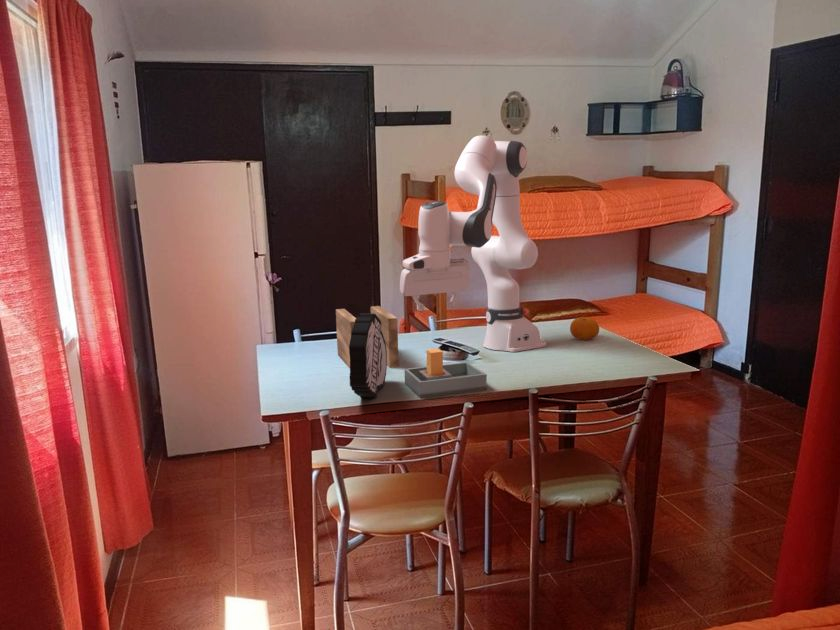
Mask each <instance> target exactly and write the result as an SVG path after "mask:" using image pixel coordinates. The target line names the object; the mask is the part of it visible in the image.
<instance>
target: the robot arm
mask: <svg viewBox="0 0 840 630" xmlns="http://www.w3.org/2000/svg"><path fill="white" fill-rule="evenodd" d="M527 162H528V151H527V148H526V146H525V145H524V143H522V141H518V140H511V141H508V140H506V141H505V140H493V139H492V138H491V137H489V136H487V135H476V136H473V137H472V138H471V140H470V141H468V143H467V144H466V146H465V147H464V148H463V149H462V152H461V154H460V156H459V158H458V160H457V161H456V164H455V167H454V172H453V173H454V174H453V175H454V179H455V182H456V183H457V185H458V186H459V187H460V189H462V190H463V191H464V192H467V194H471V195H475V196H477V197H478V201H477V206H476V209H474V210H472V211H451V210H449V208H448V207H449V206H448V203H447V202H446V201H443V200H431V201H426V202H424V203H423V204H421V205H420V207H419V211H418V222H417V223H418V226H417V227H418V228H417V229H418V234H417V235H418V238H419V248H418V254H415V255H413V256H410V257H408V258H405V259H403V261H402V267H403V269H402V270H401V273H400V277H399V279H400V280H399V292H400V293H401V294H402V295H403V296H405V297H411V296H412V300H413V301H414V302H415V304H416V310H417V311H419V312H420V311H421V312H422V311H424V309H425V307H424V306H425V305H424V303H421V302H420V301H419V299H420V297H421V296H423V295H435V294H443V293H444V294H445V293H451V295H452V297H451V298H450V300H447V307H448V308H455V307H456V301H457V299H458V297H459V292H465V291H469V289H470V288H471V277H470V272H469V271H470V262H469V261H468V260H467V259H465V258H461V257H460V258H451V257H452V256H451V246H455V247H456V246H457V247H458V246H462V247H471V257H472V259H473V261H474V262H475V263H476V264H477V266H479V268H480V270H481V271H482V274H483V276H484V278H485V279H484V280H485V281H486V287H487V288H486V289H487V306H486V310H485V311H486V313H485V316H486V317H485V319H486V330H485V331H486V332H485V336H484V340H483V344H482V345H483V347H484V348H486V349H488V350H493V351H505V352H511V353H517V352H522V351H527V350H532V349H539V348H544V347H547V342H546V340H544V339H542V338H541V334H540V330H539V328H538V327H537V326H536V324H534V323H532V322H531V321H530V320H529V319H527V318H526V317H525V316H524V315H529V313H530V309H528V308H526V307H524V308H523V307H521V305H520V285H519V283H518V281H516V279H514V278H513V277H512V275H511V273H510V272H509V271H510V270H523V269H524V270H526V269H530V268H532V267H533V266H534V265H535V264H536V262H537V260H538V257H539V251H538V247H537V245H536V243H535V242H534V240H532V239H531V237H530V236H529V235H528V234H527V232H526V230H525V228H524V225H523V222H522V218H521V199H520V198H521V195H520V192H521V189H520V188H521V187H520V181H519V180H520V179H519V177H520V174H522V172H523V171H525V168H526V166H527ZM493 226H494V227H495V228H496V230H497V233H498V234H499V235H492V234H493V233H492V232H493Z"/></svg>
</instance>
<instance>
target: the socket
mask: <svg viewBox="0 0 840 630" xmlns="http://www.w3.org/2000/svg"><path fill="white" fill-rule="evenodd" d="M445 378H452V375H451V374H450V373H448V372H447V371H446V370H444V369H443V375H436V376H429V375H428V374H427V370H422V371H419V379H420V380H421V381H428V380H437V379H445Z"/></svg>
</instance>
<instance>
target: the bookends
mask: <svg viewBox="0 0 840 630" xmlns="http://www.w3.org/2000/svg"><path fill="white" fill-rule="evenodd" d="M370 314H376V316H377V317H378V318H379V319H380V321H381V331H382V334H383V337H384V340H385V343H386V349H387V367H388V368H398V367H399V337H398V336H399V333H398V331H399V330H398V327H399V326H398V317H397V316H395V315H393V314H392V313H390V312H389V311H387V310H386V309H385V308H384V307H382V306H380V305H375V306H373V305H372V306H370ZM355 319H356V317H355V316H353V314H352V313H350V312H349V311H348V310H346V308H337V309H335V325H336V345H337V356H338V357H339V359H341V360H342V361H343V362H344V364H345V365H346V366H347V368H349V369H350V355H349V344H350V339H351V333H352V328H353V325H354V323H355Z"/></svg>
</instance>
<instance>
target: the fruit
mask: <svg viewBox="0 0 840 630" xmlns="http://www.w3.org/2000/svg"><path fill="white" fill-rule="evenodd" d="M569 332H570V333H571V335H572V337H574V338H575V339H577V340H582V341H590V340H593V339H595V338H596V337H597V336H598V334H599V333H600V326H599V324H598V322H597V321H596V320H595V319H594V318H592V317H589V316H579V317H576V318H575V319H573V320H572V322H571V323H570V327H569Z"/></svg>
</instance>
